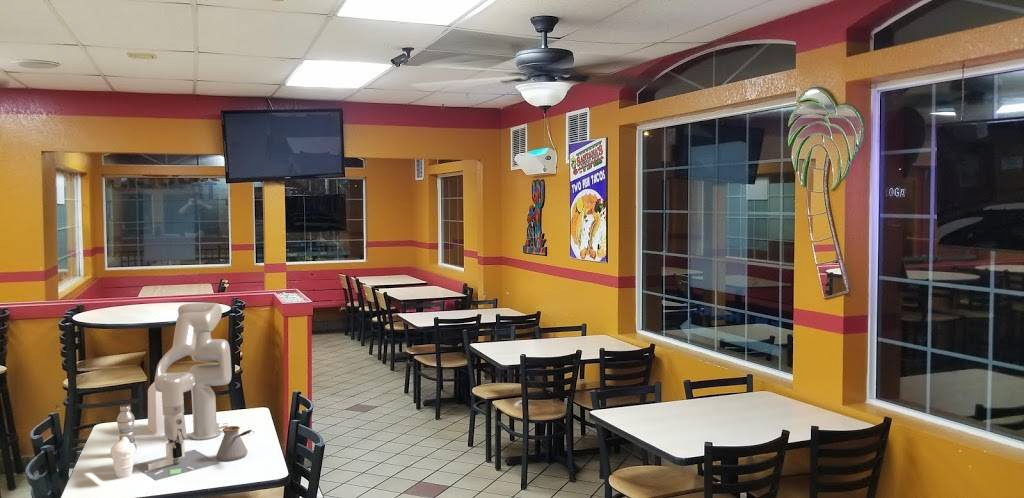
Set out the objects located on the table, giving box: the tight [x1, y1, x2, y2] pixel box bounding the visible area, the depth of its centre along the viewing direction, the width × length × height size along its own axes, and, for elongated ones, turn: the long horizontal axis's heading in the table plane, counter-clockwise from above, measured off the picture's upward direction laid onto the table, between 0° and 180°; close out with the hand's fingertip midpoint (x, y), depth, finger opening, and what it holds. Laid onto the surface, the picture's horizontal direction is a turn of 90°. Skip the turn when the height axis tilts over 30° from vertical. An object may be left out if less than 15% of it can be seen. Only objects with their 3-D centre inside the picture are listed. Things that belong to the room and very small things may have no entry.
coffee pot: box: [216, 425, 255, 462], centre depth 293 cm, size 21×12×15 cm, turn 49°
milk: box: [147, 381, 165, 436], centre depth 340 cm, size 12×12×26 cm
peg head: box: [148, 440, 186, 470], centre depth 286 cm, size 13×2×8 cm, turn 135°
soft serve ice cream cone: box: [109, 437, 137, 479], centre depth 277 cm, size 8×8×16 cm
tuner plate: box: [133, 449, 221, 481], centre depth 289 cm, size 24×24×2 cm
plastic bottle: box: [116, 404, 138, 452], centre depth 306 cm, size 6×7×20 cm
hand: (175, 455), depth 289 cm, fingers open, 3 cm apart
